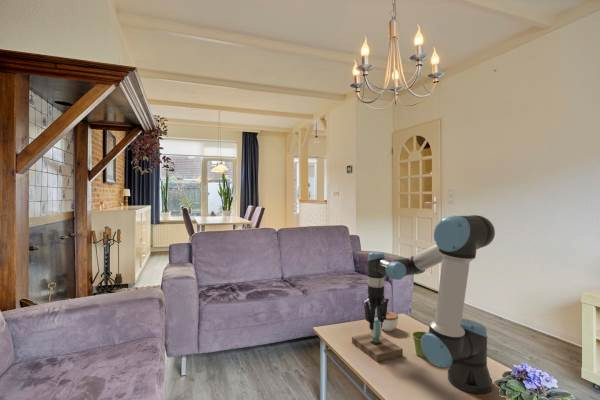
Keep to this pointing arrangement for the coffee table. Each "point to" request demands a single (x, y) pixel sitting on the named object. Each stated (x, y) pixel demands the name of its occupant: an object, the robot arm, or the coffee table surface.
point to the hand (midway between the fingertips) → (375, 335)
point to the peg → (376, 339)
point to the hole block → (377, 347)
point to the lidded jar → (390, 321)
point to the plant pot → (418, 343)
